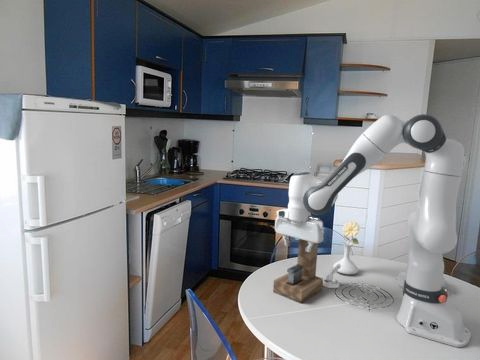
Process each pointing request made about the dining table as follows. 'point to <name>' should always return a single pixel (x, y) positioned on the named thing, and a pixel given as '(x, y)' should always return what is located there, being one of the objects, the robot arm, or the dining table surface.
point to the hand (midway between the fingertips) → (297, 248)
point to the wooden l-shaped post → (308, 280)
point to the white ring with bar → (331, 278)
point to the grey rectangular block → (295, 274)
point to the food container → (403, 277)
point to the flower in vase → (348, 249)
